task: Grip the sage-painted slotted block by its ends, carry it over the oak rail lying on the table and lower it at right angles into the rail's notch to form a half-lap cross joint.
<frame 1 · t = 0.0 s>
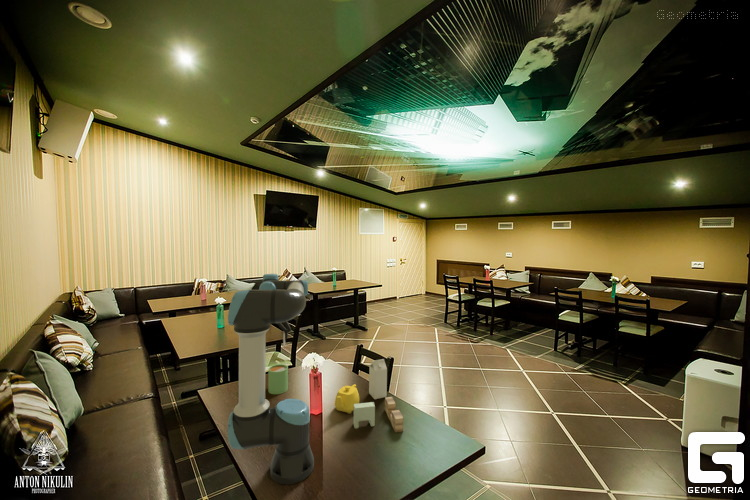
hand: (270, 346, 152), 28 cm above the table, fingers open, 13 cm apart
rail: (393, 419, 138), on the table
teapot: (346, 409, 147), on the table
milk carton: (377, 395, 160), on the table
mug: (276, 389, 165), on the table
block: (363, 424, 134), on the table
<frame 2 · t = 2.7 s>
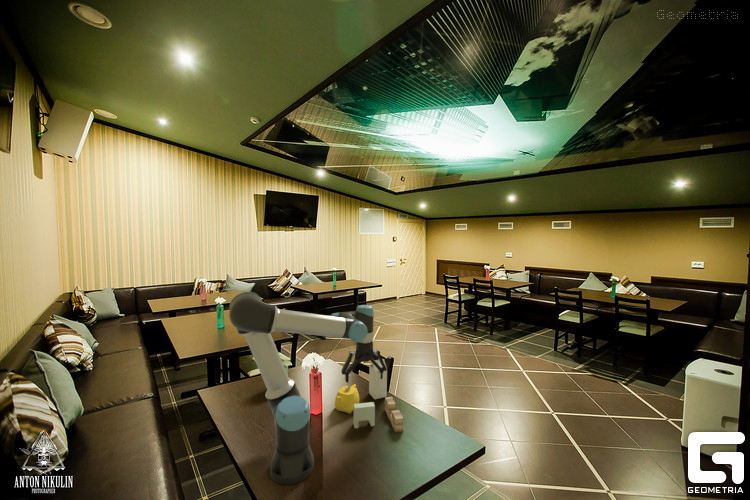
hand: (364, 387, 134), 17 cm above the table, fingers open, 13 cm apart
nothing on the table moved.
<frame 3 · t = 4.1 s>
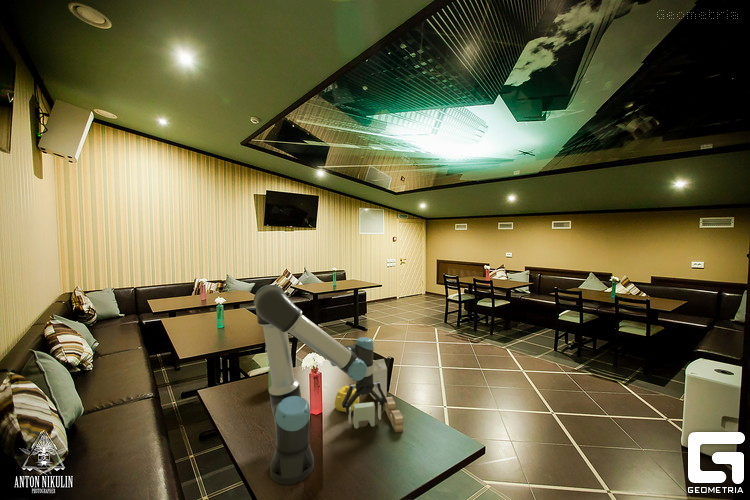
hand: (364, 419, 134), 2 cm above the table, fingers open, 13 cm apart
nothing on the table moved.
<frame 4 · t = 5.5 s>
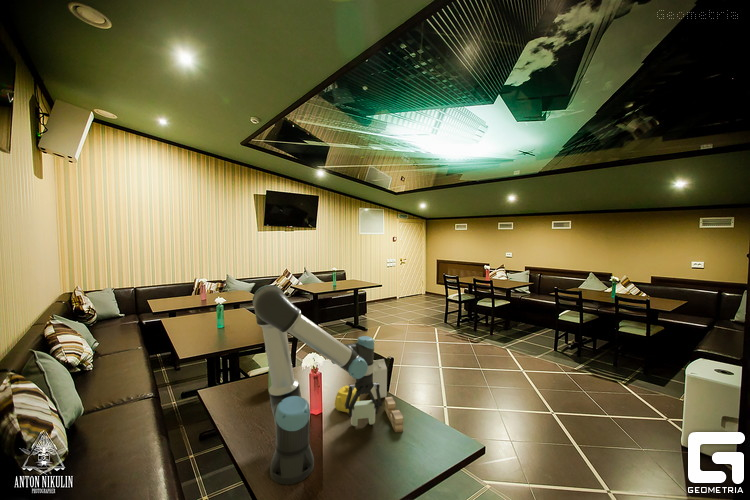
hand: (362, 422, 134), 1 cm above the table, fingers closed on block, 9 cm apart
block: (362, 422, 134), point 1 cm above the table, touching gripper
everything else where it was.
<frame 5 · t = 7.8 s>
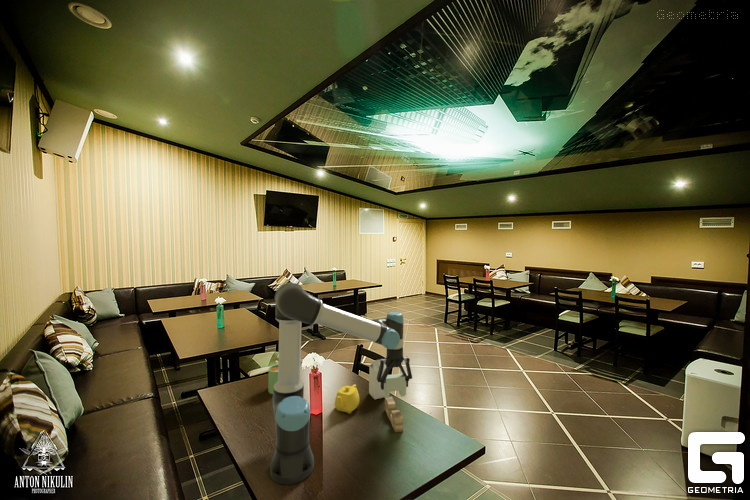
hand: (394, 394, 138), 12 cm above the table, fingers closed on block, 9 cm apart
block: (394, 395, 138), point 11 cm above the table, touching gripper
everything else where it was.
when the fingers open (1 cm above the table, at t = 9.9 s): block drops 1 cm, resting on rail.
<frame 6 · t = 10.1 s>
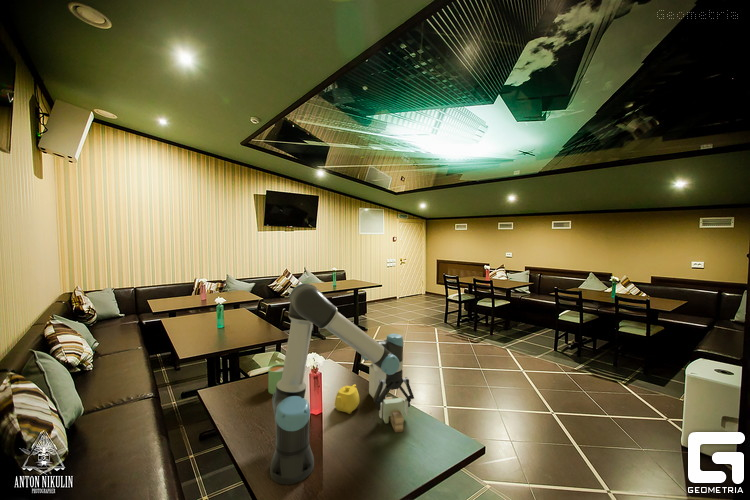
hand: (393, 415, 138), 2 cm above the table, fingers open, 11 cm apart
block: (393, 419, 138), resting on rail
everything else where it was.
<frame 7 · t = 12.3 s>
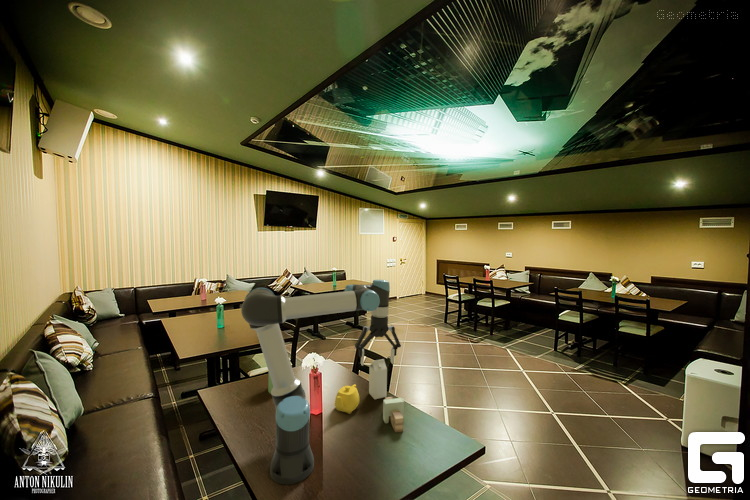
hand: (377, 363, 131), 29 cm above the table, fingers open, 13 cm apart
nothing on the table moved.
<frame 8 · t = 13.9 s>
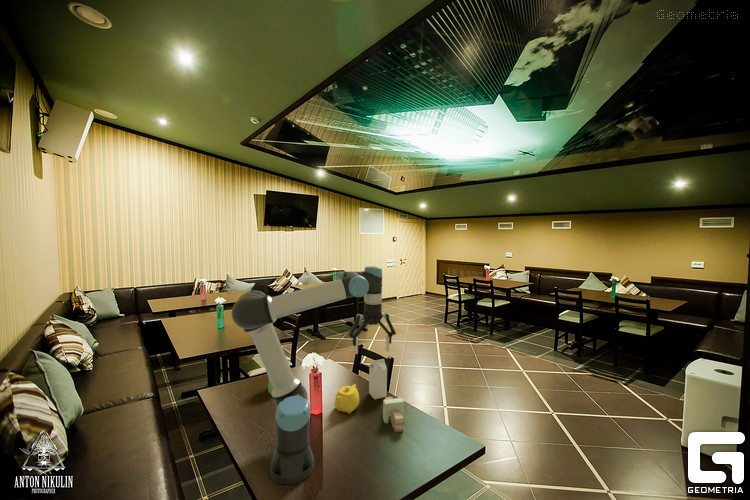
hand: (372, 351, 129), 35 cm above the table, fingers open, 13 cm apart
nothing on the table moved.
at the end: block 0.0 cm off-centre on the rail, point 0.0 cm above the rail's base; block tilted 0°; the gripper is holding nothing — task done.
